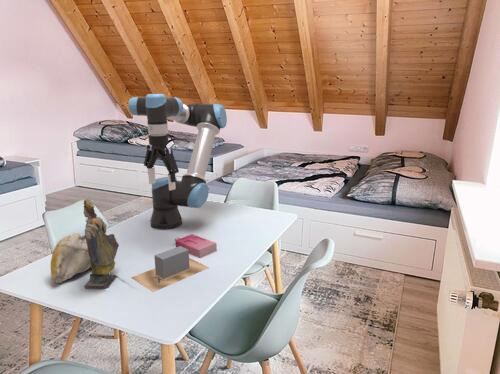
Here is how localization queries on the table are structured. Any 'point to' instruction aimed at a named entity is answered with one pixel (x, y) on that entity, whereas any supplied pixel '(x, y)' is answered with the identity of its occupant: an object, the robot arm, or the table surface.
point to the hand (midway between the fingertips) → (162, 186)
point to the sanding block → (172, 263)
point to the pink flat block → (196, 245)
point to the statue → (99, 249)
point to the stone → (69, 258)
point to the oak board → (156, 283)
